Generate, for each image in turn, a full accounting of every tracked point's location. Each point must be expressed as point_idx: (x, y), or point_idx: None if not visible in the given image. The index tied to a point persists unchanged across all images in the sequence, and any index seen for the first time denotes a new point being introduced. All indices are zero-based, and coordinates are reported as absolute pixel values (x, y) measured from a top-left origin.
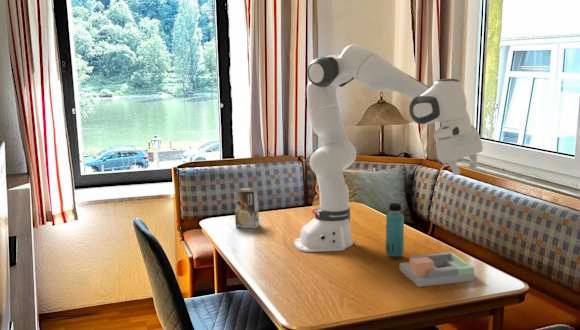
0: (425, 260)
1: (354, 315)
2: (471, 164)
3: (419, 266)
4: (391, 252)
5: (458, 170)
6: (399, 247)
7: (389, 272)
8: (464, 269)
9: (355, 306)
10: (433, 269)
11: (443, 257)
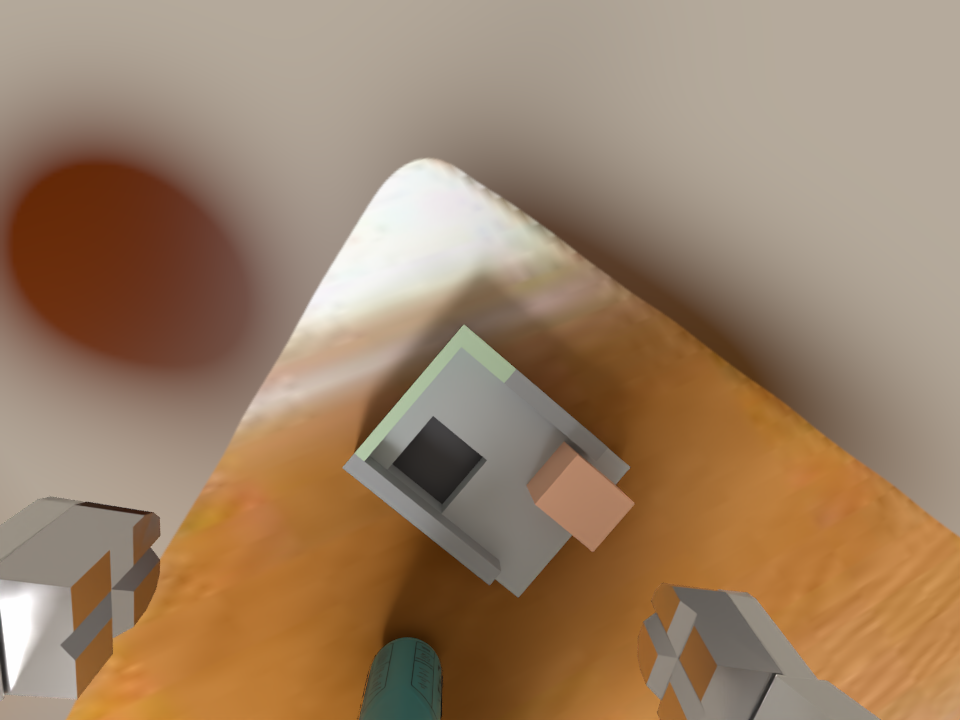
0: (579, 490)
1: (911, 521)
2: (72, 630)
3: (620, 490)
4: (440, 676)
5: (764, 641)
6: (422, 665)
7: (556, 600)
8: (495, 351)
9: (858, 550)
10: (569, 447)
11: (391, 478)
